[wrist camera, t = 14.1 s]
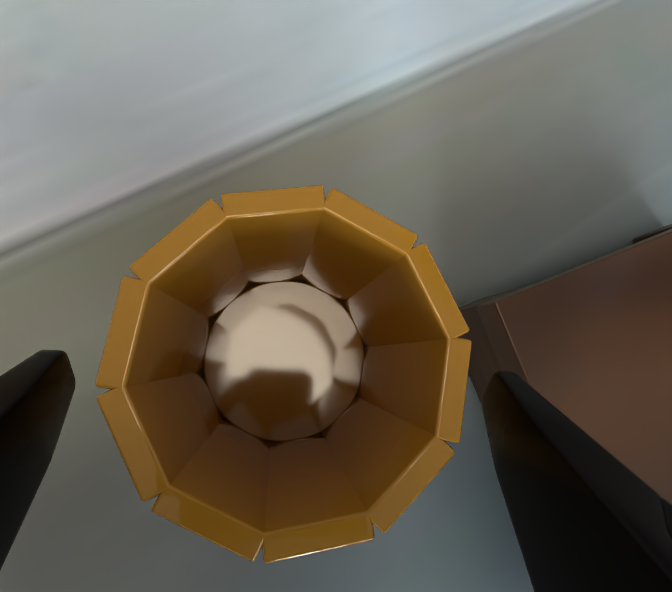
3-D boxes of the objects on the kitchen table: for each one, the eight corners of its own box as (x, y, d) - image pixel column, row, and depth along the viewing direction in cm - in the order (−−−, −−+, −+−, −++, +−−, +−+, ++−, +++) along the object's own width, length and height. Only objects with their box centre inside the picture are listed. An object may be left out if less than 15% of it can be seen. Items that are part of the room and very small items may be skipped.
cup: (410, 357, 16) (538, 360, 8) (279, 495, 15) (283, 651, 7) (291, 233, 16) (306, 117, 8) (149, 359, 15) (9, 364, 7)
